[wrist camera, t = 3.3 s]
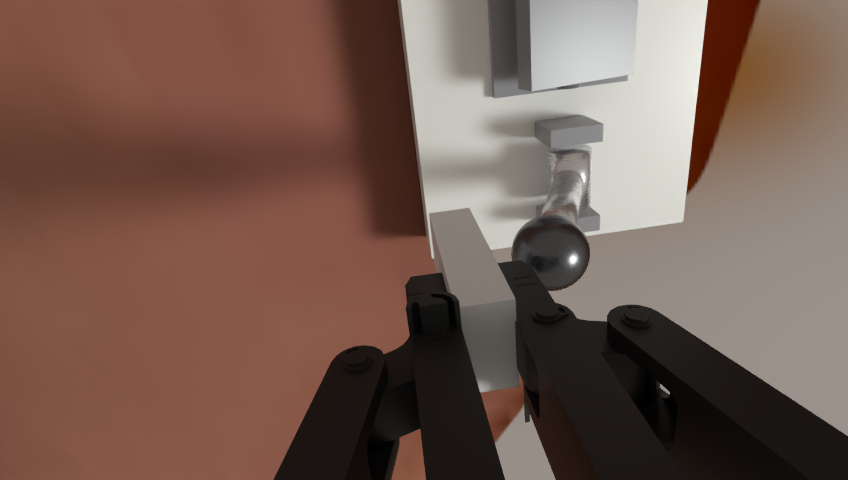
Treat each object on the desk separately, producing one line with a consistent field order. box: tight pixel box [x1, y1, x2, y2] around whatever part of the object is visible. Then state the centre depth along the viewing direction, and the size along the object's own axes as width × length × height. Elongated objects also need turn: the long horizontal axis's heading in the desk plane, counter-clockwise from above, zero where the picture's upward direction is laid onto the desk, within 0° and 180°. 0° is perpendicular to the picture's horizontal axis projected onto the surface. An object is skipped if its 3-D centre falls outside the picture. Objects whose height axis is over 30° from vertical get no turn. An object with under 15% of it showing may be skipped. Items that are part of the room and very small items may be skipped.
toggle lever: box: [511, 144, 592, 291], centre depth 20 cm, size 3×3×10 cm
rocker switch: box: [515, 0, 638, 91], centre depth 21 cm, size 5×6×2 cm
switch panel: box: [397, 0, 708, 258], centre depth 22 cm, size 14×22×5 cm, turn 7°
